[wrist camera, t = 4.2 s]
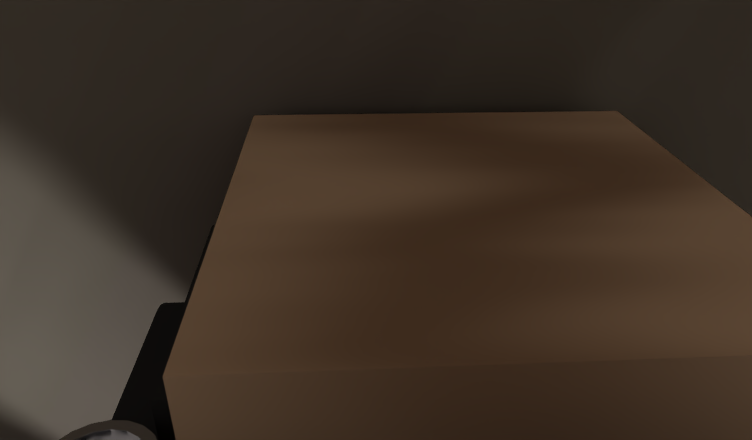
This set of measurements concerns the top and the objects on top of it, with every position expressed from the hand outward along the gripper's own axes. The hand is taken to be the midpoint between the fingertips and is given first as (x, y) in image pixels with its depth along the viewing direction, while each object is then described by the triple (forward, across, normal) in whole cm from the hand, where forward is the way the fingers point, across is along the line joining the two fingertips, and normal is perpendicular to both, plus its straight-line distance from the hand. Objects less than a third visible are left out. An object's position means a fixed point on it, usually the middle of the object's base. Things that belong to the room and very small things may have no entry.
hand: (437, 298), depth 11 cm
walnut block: (+1, 0, 0) cm, 1 cm away
